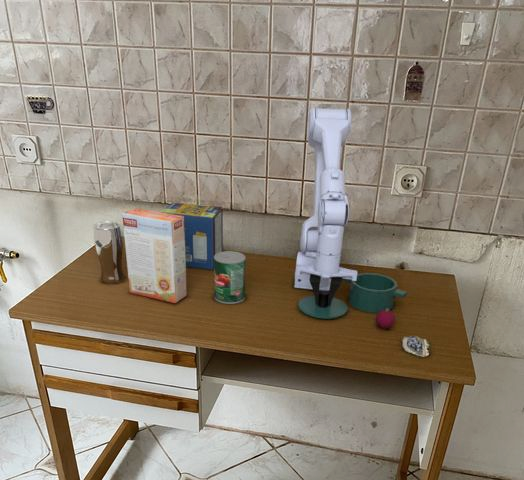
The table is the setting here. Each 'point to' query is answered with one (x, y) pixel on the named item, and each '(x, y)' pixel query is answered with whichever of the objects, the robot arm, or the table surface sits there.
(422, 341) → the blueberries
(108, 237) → the beer glass
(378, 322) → the beet
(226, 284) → the canned tomato
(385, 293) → the pot
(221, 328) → the table surface
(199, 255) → the protein box
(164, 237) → the cracker box
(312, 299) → the lid
